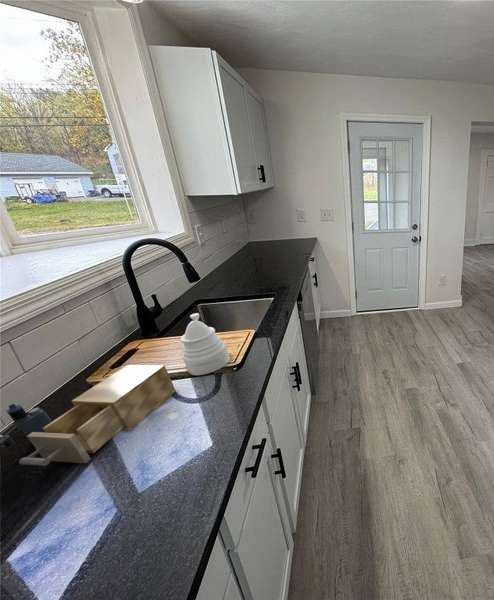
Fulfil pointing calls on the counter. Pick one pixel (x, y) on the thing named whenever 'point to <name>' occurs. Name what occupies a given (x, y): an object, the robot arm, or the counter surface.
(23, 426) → the vaping device
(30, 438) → the drawer
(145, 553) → the counter surface
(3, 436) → the robot arm
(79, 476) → the counter surface
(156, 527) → the counter surface
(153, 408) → the cabinet
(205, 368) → the honey pot
